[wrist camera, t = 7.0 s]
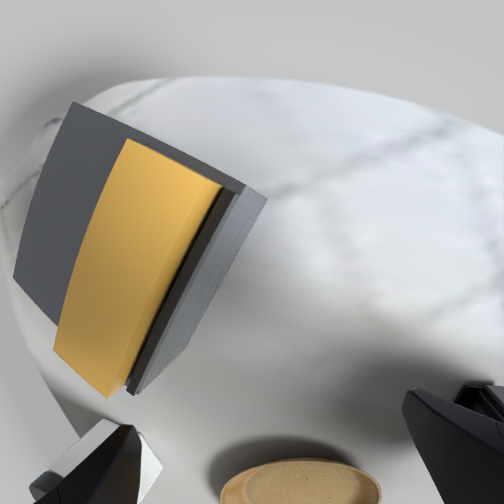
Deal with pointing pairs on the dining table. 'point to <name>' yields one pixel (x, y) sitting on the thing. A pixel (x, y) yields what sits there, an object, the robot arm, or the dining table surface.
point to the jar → (83, 449)
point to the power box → (80, 213)
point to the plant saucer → (302, 484)
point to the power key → (129, 262)
